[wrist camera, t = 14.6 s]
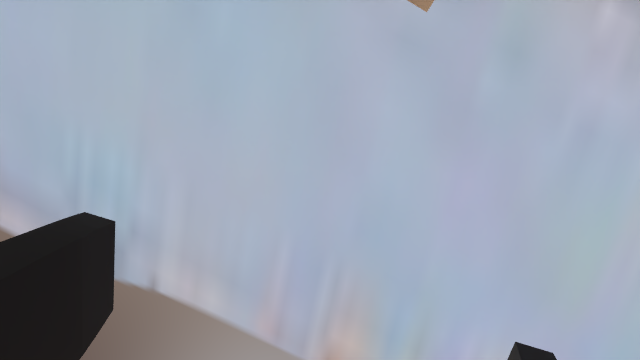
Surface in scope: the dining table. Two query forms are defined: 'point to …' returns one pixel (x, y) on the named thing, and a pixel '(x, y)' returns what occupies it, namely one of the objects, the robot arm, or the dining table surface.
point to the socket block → (422, 4)
